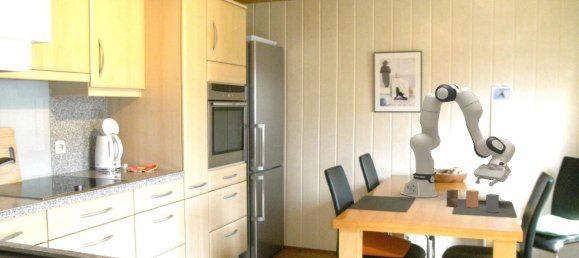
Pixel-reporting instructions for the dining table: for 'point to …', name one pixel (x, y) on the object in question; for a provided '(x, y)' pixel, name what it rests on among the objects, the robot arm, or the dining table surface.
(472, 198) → the terracotta bar
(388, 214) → the dining table surface
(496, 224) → the dining table surface
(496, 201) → the charcoal bar
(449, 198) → the walnut bar
